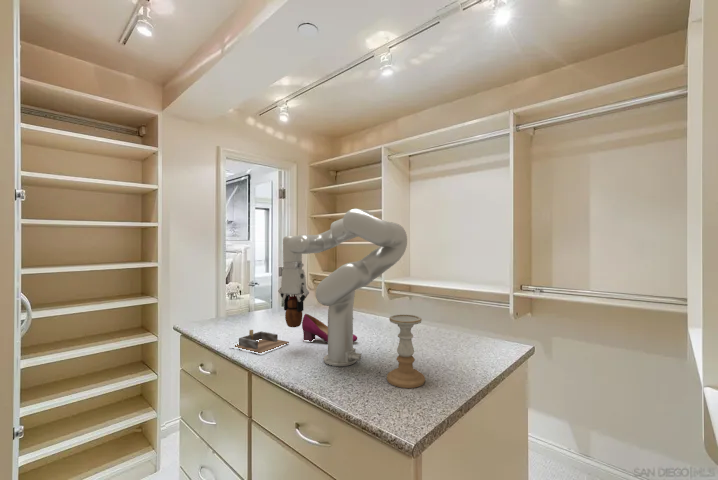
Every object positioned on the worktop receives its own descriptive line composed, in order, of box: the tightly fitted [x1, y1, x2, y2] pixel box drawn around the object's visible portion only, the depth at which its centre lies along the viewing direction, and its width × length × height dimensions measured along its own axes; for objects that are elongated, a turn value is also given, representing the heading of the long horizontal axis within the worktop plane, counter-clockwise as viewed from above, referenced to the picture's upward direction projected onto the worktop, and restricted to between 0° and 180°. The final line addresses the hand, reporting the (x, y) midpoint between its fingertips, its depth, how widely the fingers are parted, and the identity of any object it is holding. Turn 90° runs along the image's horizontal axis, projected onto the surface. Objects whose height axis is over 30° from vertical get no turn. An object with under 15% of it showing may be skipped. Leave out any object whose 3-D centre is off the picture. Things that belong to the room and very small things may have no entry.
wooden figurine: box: [284, 294, 303, 328], centre depth 132 cm, size 7×6×15 cm
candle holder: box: [386, 314, 426, 389], centre depth 105 cm, size 12×12×20 cm
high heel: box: [301, 313, 358, 344], centre depth 146 cm, size 9×26×12 cm, turn 84°
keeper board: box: [235, 329, 290, 353], centre depth 140 cm, size 19×16×6 cm
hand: (293, 310), depth 132 cm, fingers closed on wooden figurine, 6 cm apart
